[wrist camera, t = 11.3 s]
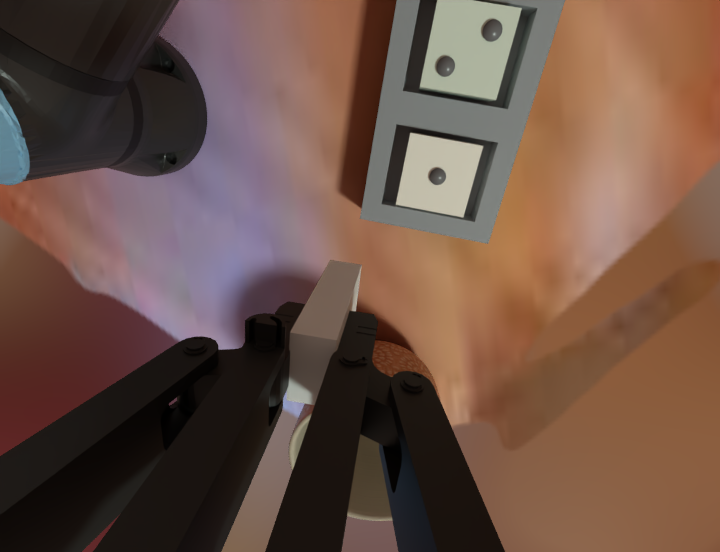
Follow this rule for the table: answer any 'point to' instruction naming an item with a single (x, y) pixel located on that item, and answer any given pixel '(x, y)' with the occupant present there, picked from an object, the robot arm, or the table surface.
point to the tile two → (469, 48)
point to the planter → (367, 439)
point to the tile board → (454, 118)
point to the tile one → (438, 174)
